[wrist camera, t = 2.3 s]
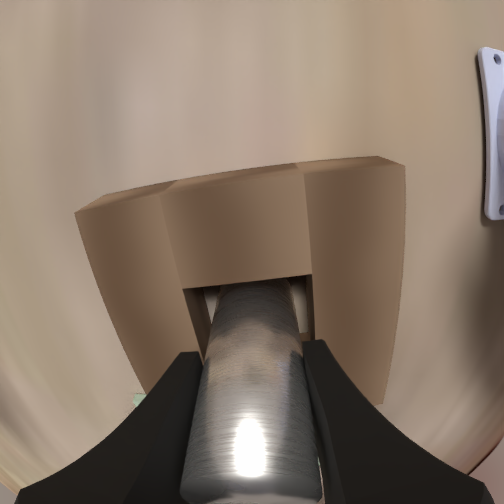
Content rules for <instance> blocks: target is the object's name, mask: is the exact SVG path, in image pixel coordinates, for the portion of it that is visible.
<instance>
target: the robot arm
mask: <svg viewBox="0 0 504 504" xmlns="http://www.w3.org/2000/svg"><path fill="white" fill-rule="evenodd" d="M494 57H495V59H496V63H495V61H494ZM478 61H479V67H480V73H481V81H482V89H483V98H484V109H485V124H486V192H485V207H484V211H485V215H486V217H488V218H489V219H491V220H502V219H504V52H503V51H500V50H496V49H492V48H489V47H483V48H480V49H479V50H478ZM500 206H501V210H500V211H499V208H500ZM302 348H303V361H304V367H305V374H306V380H307V385H308V391H309V398H310V404H311V411H312V418H313V425H314V432H315V440H316V447H317V454H318V458H319V463H320V467H321V473H322V478H323V487H324V496H325V504H495V503H494V501H493V498H492V496H491V494H490V493H489V491H488V490H487V488H486V486H485V484H484V483H483V482H481V481H479V480H477V479H474V478H472V477H470V476H468V475H466V474H464V473H462V472H460V471H458V470H456V469H454V468H453V467H451V466H449V465H448V464H446V463H444V462H443V461H441V460H439V459H438V458H436V457H434V456H433V455H432V454H430V453H429V452H427V451H426V450H424V449H423V448H422V447H420V446H419V445H417V444H416V443H415V442H413V441H412V440H410V439H409V438H408V437H407V436H405V435H404V434H403V433H402V432H401V431H399V430H398V429H397V428H396V427H395V426H394V425H393V424H391V423H390V422H389V421H388V420H387V419H386V418H385V417H384V416H383V415H382V414H381V413H380V412H379V411H378V410H377V409H376V408H375V407H374V406H373V405H372V404H371V403H370V402H369V401H368V400H367V398H366V397H365V396H364V395H363V394H362V393H361V392H360V390H359V389H358V388H357V387H356V386H355V384H354V383H353V382H352V381H351V379H350V378H349V377H348V376H347V374H346V373H345V372H344V370H343V369H342V368H341V366H340V365H339V363H338V362H337V360H336V359H335V357H334V356H333V354H332V353H331V351H330V349H329V348H328V346H327V344H326V342H325V341H324V340H322V339H318V340H311V341H303V342H302ZM202 370H203V364H202V361H201V357H200V354H199V351H193V352H180V353H179V354H178V356H177V357H176V358H175V359H174V361H173V362H172V363H171V365H170V366H169V367H168V369H167V370H166V371H165V373H164V374H163V375H162V376H161V378H160V379H159V380H158V382H157V383H156V384H155V385H154V387H153V388H152V389H151V390H150V392H149V393H148V394H147V395H146V397H145V398H144V399H143V400H142V401H141V402H140V404H139V405H138V406H137V407H136V408H135V409H134V410H133V411H132V412H131V414H130V415H129V416H128V417H127V418H126V419H125V420H124V421H123V422H122V423H121V424H120V425H119V426H118V427H117V428H116V429H115V430H114V431H113V432H112V433H111V434H109V435H108V436H107V437H106V438H105V439H104V440H103V441H101V442H100V443H99V444H98V445H96V446H95V447H94V448H92V449H91V450H90V451H88V452H87V453H86V454H84V455H83V456H82V457H80V458H79V459H78V460H76V461H75V462H73V463H71V464H70V465H68V466H67V467H65V468H63V469H62V470H60V471H58V472H56V473H55V474H53V475H51V476H49V477H47V478H45V479H43V480H41V481H39V482H36V483H34V484H32V485H30V486H27V487H25V488H22V489H20V491H19V494H18V496H17V498H16V501H15V503H14V504H189V503H188V502H186V501H185V500H184V499H183V498H182V496H181V494H180V486H181V480H182V475H183V469H184V463H185V458H186V453H187V447H188V442H189V436H190V431H191V426H192V421H193V415H194V410H195V405H196V400H197V395H198V390H199V385H200V380H201V375H202Z"/></svg>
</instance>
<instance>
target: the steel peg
mask: <svg viewBox="0 0 504 504" xmlns="http://www.w3.org/2000/svg"><path fill="white" fill-rule="evenodd" d="M180 494H181V496H182V498H183V499H184V500H185V501H186V502H188V503H189V504H316V503H317V502H318V501H319V500H320V499H321V498H322V486H321V478H320V470H319V462H318V454H317V447H316V440H315V432H314V425H313V418H312V411H311V404H310V398H309V391H308V385H307V380H306V374H305V367H304V361H303V353H302V347H301V340H300V334H299V328H298V322H297V317H296V311H295V305H294V299H293V294H292V289H291V286H290V284H289V282H288V281H287V279H286V278H285V277H283V278H275V279H267V280H258V281H250V282H241V283H232V284H223V285H221V286H220V289H219V294H218V298H217V303H216V308H215V312H214V317H213V322H212V327H211V331H210V336H209V341H208V346H207V350H206V355H205V360H204V365H203V370H202V375H201V380H200V385H199V390H198V395H197V400H196V405H195V410H194V415H193V421H192V426H191V431H190V436H189V442H188V447H187V453H186V458H185V463H184V469H183V475H182V480H181V486H180Z"/></svg>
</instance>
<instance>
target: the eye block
mask: <svg viewBox="0 0 504 504" xmlns="http://www.w3.org/2000/svg"><path fill="white" fill-rule="evenodd" d="M405 215H406V184H405V166H404V165H401V164H398V163H396V162H393V161H390V160H388V159H385V158H382V157H379V156H371V157H356V158H342V159H330V160H319V161H309V162H299V163H290V164H281V165H273V166H265V167H257V168H250V169H243V170H236V171H229V172H222V173H216V174H210V175H204V176H198V177H192V178H186V179H180V180H175V181H170V182H164V183H159V184H154V185H149V186H144V187H139V188H134V189H130V190H125V191H120V192H116V193H112V194H107V195H104V196H102V197H100V198H99V199H97V200H95V201H93V202H92V203H90V204H88V205H87V206H85V207H83V208H82V209H80V210H78V211H77V212H75V217H76V221H77V224H78V228H79V231H80V234H81V238H82V241H83V244H84V247H85V250H86V253H87V256H88V259H89V262H90V265H91V268H92V271H93V274H94V277H95V280H96V282H97V285H98V288H99V290H100V293H101V296H102V298H103V301H104V303H105V306H106V308H107V311H108V313H109V316H110V318H111V321H112V323H113V325H114V328H115V330H116V332H117V335H118V337H119V339H120V342H121V344H122V346H123V348H124V350H125V353H126V355H127V357H128V359H129V361H130V363H131V365H132V367H133V369H134V371H135V373H136V376H137V378H138V380H139V381H140V383H141V385H142V387H143V389H144V391H145V393H146V395H147V394H148V393H149V392H150V390H151V389H152V388H153V387H154V385H155V384H156V383H157V382H158V380H159V379H160V378H161V376H162V375H163V374H164V373H165V371H166V370H167V369H168V367H169V366H170V365H171V363H172V362H173V361H174V359H175V358H176V357H177V356H178V354H179V353H180V352H193V351H199V354H200V357H201V361H202V364H203V365H204V360H205V355H206V350H207V346H208V341H209V336H210V331H211V327H212V325H211V321H210V317H209V313H208V310H207V306H206V302H205V298H204V294H203V290H202V287H204V286H213V285H223V284H232V283H241V282H250V281H258V280H267V279H275V278H283V277H291V276H299V275H305V280H306V295H307V310H308V327H309V332H307V333H299V334H300V340H301V347H302V342H303V341H311V340H318V339H322V340H324V341H325V342H326V344H327V346H328V348H329V349H330V351H331V353H332V354H333V356H334V357H335V359H336V360H337V362H338V363H339V365H340V366H341V368H342V369H343V370H344V372H345V373H346V374H347V376H348V377H349V378H350V379H351V381H352V382H353V383H354V384H355V386H356V387H357V388H358V389H359V390H360V392H361V393H362V394H363V395H364V396H365V397H366V398H367V400H368V401H369V402H370V403H371V404H372V405H373V406H374V405H379V404H383V401H384V396H385V392H386V387H387V382H388V377H389V372H390V366H391V361H392V355H393V349H394V343H395V336H396V329H397V322H398V314H399V306H400V297H401V287H402V275H403V262H404V245H405ZM302 353H303V348H302Z"/></svg>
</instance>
